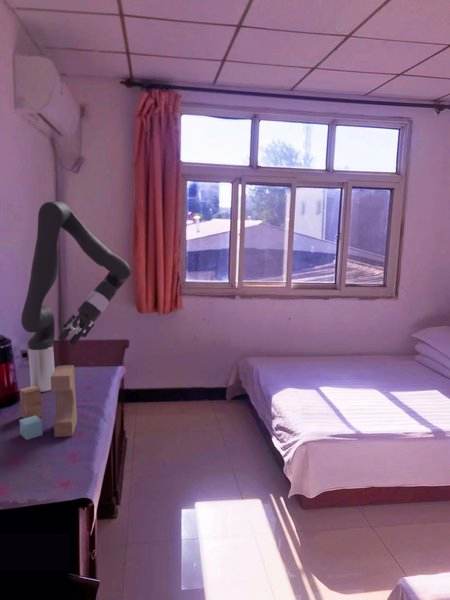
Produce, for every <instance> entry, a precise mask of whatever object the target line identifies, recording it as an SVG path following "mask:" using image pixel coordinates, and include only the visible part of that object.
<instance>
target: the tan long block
mask: <svg viewBox="0 0 450 600" xmlns="http://www.w3.org/2000/svg"><path fill="white" fill-rule="evenodd" d="M41 394H42V392H40V389H39V388H37V387H36V386H31V385H30V386H27V387H23V388H20V389H19V396H20V410H21V418H22V419H24V418H28V417H31V416H35V415H36V416H37V417H38V418H39V419H41V418H43V410H42V409H43V408H42V407H43V406H42V397H41V396H42V395H41ZM40 417H41V418H40Z"/></svg>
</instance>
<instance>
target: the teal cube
mask: <svg viewBox="0 0 450 600" xmlns="http://www.w3.org/2000/svg"><path fill="white" fill-rule="evenodd" d="M18 422H19V430H20V431H19V434H20V436H22V438H23V439H25V440H26V441H28V440H32V439H34V438H38V437H40V436H43V434H44V433H43V421H42V419H41V418H38V417H37V416H36V415H35V416H31V417H28V418H21V419H19V421H18Z"/></svg>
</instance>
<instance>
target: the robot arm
mask: <svg viewBox="0 0 450 600" xmlns="http://www.w3.org/2000/svg"><path fill="white" fill-rule="evenodd" d="M37 215H38V216H37V232H36V233H37V235H36V242H35V247H34V254H33V258H32V264H31V271H30V278H29V284H28V290H27V294H26V298H25V300H24V301H25V302H24V305H23V309H22V313H21V322H20V323H21V326H22V328H23V330H25V332H27V333H34V335H32V337H31V338H30V339H29V340H28V341H27V349H28V350H27V351H28V362H29V363H28V365H29V379H30V387H31V386H36V387H37V388H39V389H40V392H41V393H43V392H49V391H51V376H52V374H53V372H54V371H55V369H56V367H55V357H54V356H55V353H54V341H55V337H56V336H55V331H56V329H55V314H54V312H53V310H52V309H51V308H50V307H49V306H46V305H43V303H44V300H45V298H46V296H47V294H49V292H50V290H51V289H52V287H53V286H54V284H55V282H56V280H57V277H58V274H59V273H58V271H59V268H60V267H59V265H60V256H59V250H58V240H59V234H60V230H61V228H62V229H63V230H64V231H66V232H67V233H68V234H69V235H70V236H71V237H72V238H73V239H74V240H75V242H77V244H78V246H79V247H80V249H81V250H82V252H84V253H85V254H86V255H87V257H88V258H90V259H91V260H92V261H93V262H94V263H95V264H97V265H98V266H99V267H104V268H105V269H106V270H107V271H109V272H108V273H107V274H106V276H105V277H104V279H103V280H102V281H100V282H99V284H98V285H97V286H96V287H95V288H94V289H93V291H92V292H91V293H90V294H88V296H87V297H86V298H85V300H84V301H83V302H82V304H80V306H79V307H78V308H77V312H78V314H77V316H76V315H75V314H71V316H70V317H69V318H68V320H67V321H66V322H65V323H64V324H63V326H62V328H63V331H62V332H61V333H60V334H59V335H58V336H57V338H58V340H59V341H61V342H64V341H65V339H67V337H68V336H69V335H70V333H72V332H74V331H75V333H74V334H73V336H72V337H71V338H70V339H69V340H68V345H70V346H72V347H74V346H76V344H77V342H78V341H79V340H80V339H81V338H86V337H87V336H88V334H90V331H91V330H92V328H94V326H95V322H96V321H97V320H98V318H99V317H100V315H102V314H103V312H104V311H105V309H106V308H107V306H108V304H110V302H111V301H112V299H113V298H114V297H115V296H116V294H117V292H118V291H119V289H120V288H121V287H122V286H123V284H124V283H125V282H126V281H127V280H128V278H130V276H131V274H132V269H131V266H130V265H129V263H128V262H127V261H126V260H124V259H123V258H121V257H120V256H118V255H117V254H115V253H114V252H112V251H111V250H110V249H109V248H108V247H107V246H106V245H105V244H104V243H102V242H101V241H100V240H99V239H98V238H97V237H96V236H94V234H93V233H91V232H90V231H89V229H88V228H87V227H86V226H85V225H84V224H83V223H82V222H81V220H79V218H78V217H77V216H76V215H75V213H74V212H73V211H72V210H71V209H70V207H69V206H68V205H67V204H66V203H65V202H63V201H60V200H52V201H46V202H45V203H43V204H42V205H41V206H40V208H39V210H38V214H37Z"/></svg>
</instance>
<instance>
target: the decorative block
mask: <svg viewBox="0 0 450 600" xmlns="http://www.w3.org/2000/svg"><path fill="white" fill-rule="evenodd" d="M75 377H76V376H75V366H74V365H73V364H66V365H65V364H64V365H57V366H56V367H55V371H54V372H53V374H52V376H51V390H50V391H51V392H54V393H53V394H54V396H55V397H54V398H55V413H54V414H55V415H54V422H53V436H54V437H55V438H56V437H57V438H67V437H73V435H74V433H75V428H76V425H77V422H78V415H77V413H78V411H77V399H76V397H77V395H76V380H75V379H76V378H75Z"/></svg>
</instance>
